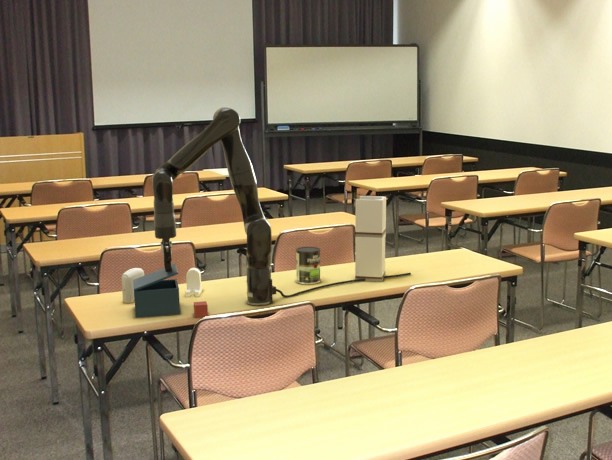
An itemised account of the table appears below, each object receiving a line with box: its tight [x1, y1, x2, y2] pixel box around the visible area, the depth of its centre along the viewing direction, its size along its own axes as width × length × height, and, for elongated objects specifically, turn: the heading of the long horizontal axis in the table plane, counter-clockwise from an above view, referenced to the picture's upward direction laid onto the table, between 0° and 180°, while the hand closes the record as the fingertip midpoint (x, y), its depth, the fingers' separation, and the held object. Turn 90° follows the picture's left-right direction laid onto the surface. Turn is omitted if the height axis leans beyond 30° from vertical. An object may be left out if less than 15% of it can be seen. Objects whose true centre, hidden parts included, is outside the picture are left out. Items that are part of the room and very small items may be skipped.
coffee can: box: [295, 246, 321, 285], centre depth 319 cm, size 10×10×14 cm
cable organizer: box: [185, 267, 203, 298], centre depth 301 cm, size 5×10×10 cm, turn 4°
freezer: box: [134, 278, 181, 319], centre depth 278 cm, size 16×14×10 cm
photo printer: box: [120, 267, 145, 304], centre depth 292 cm, size 10×4×12 cm, turn 158°
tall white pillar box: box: [354, 195, 387, 283], centre depth 323 cm, size 11×11×35 cm
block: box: [193, 300, 209, 318], centre depth 274 cm, size 4×4×4 cm
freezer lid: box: [133, 263, 179, 291], centre depth 276 cm, size 16×14×5 cm
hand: (168, 269), depth 278 cm, fingers closed on freezer lid, 5 cm apart
